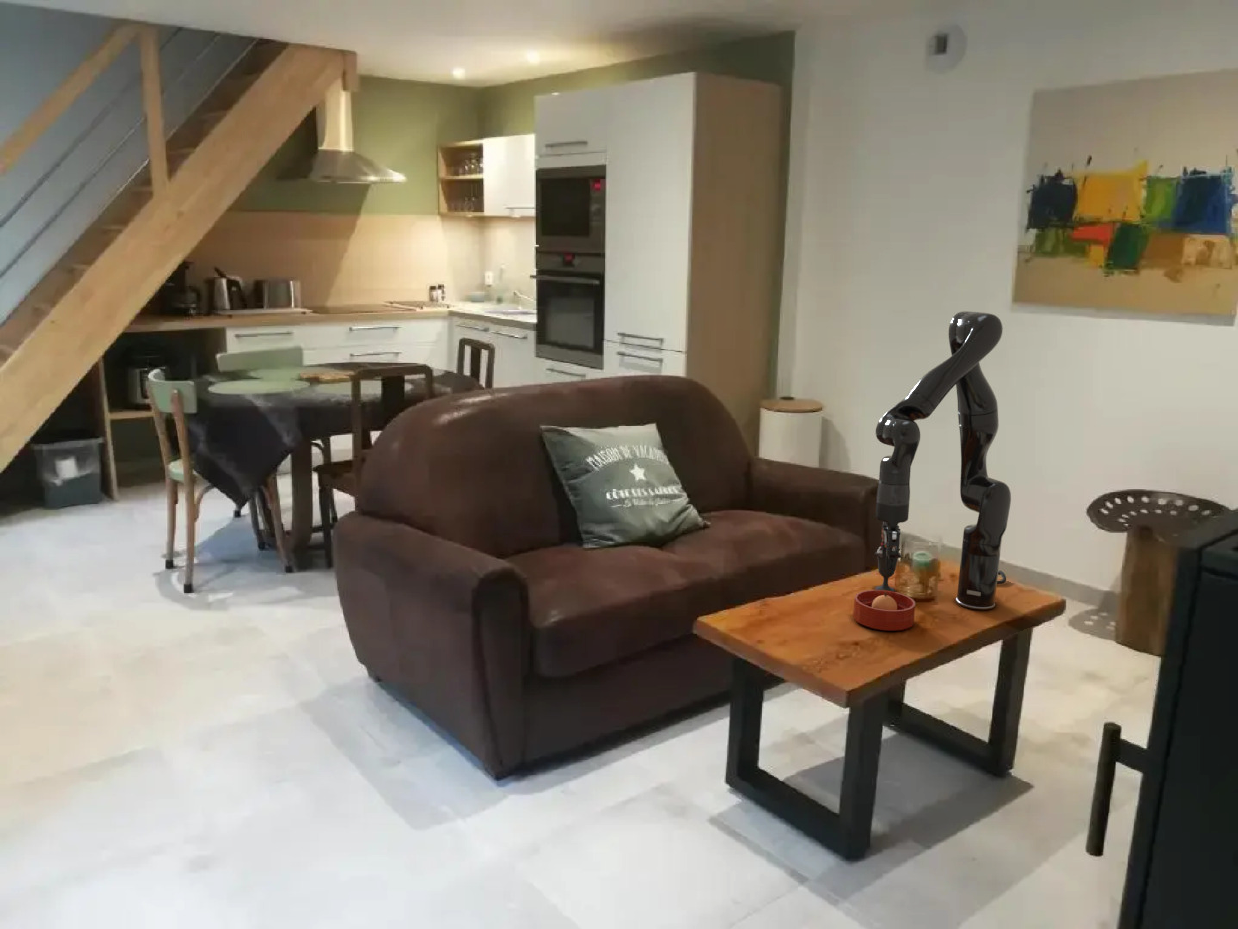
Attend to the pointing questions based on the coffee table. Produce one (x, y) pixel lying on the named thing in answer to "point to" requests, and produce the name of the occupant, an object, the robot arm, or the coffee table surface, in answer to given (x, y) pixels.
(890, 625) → the bowl
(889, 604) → the peach
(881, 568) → the sundae
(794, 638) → the coffee table surface
